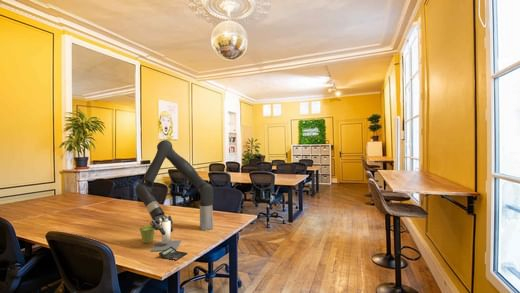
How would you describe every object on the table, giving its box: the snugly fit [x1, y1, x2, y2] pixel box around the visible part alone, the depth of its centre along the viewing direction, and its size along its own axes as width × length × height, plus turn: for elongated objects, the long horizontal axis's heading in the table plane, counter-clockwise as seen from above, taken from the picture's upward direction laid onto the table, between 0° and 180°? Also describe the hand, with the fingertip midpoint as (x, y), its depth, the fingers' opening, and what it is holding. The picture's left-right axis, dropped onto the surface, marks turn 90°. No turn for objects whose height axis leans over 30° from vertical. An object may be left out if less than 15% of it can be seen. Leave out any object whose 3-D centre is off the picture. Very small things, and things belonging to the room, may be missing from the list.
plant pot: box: [139, 225, 156, 244], centre depth 154 cm, size 9×9×9 cm
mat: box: [150, 239, 182, 253], centre depth 146 cm, size 14×14×1 cm
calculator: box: [158, 246, 188, 262], centre depth 133 cm, size 9×12×3 cm
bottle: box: [161, 218, 172, 243], centre depth 146 cm, size 5×5×14 cm
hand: (168, 232), depth 145 cm, fingers closed on bottle, 5 cm apart
